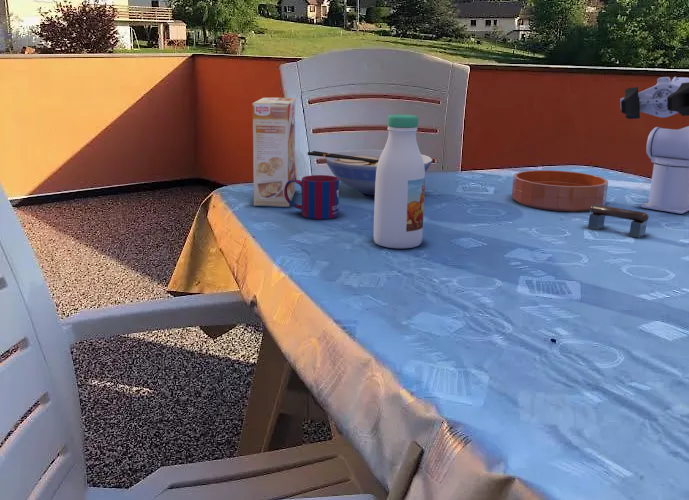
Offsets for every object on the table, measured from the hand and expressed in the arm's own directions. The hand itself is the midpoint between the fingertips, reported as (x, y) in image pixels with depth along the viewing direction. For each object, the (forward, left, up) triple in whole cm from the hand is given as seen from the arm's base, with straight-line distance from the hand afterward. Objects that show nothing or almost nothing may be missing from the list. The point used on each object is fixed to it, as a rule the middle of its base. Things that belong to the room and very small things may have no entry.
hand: (645, 105), depth 120 cm
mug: (+35, -45, -21) cm, 61 cm away
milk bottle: (+39, -22, -21) cm, 50 cm away
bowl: (-9, -18, -21) cm, 29 cm away
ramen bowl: (+10, -50, -21) cm, 55 cm away
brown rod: (+6, 0, -19) cm, 20 cm away
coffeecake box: (+31, -59, -21) cm, 70 cm away
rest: (+6, 0, -21) cm, 22 cm away
